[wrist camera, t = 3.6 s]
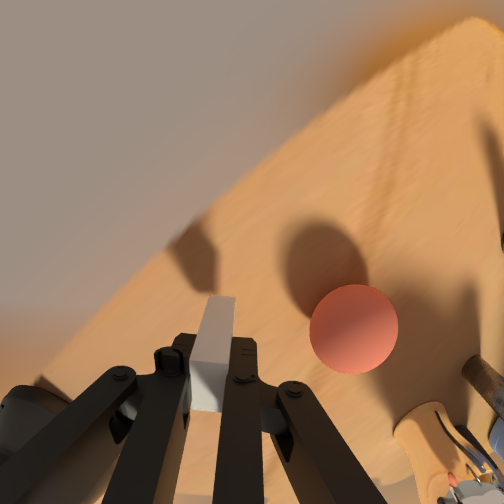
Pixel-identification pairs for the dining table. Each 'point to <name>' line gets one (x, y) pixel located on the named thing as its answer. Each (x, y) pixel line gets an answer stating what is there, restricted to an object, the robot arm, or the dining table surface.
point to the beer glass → (446, 460)
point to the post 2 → (503, 243)
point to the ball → (353, 329)
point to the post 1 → (486, 382)
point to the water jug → (498, 438)
